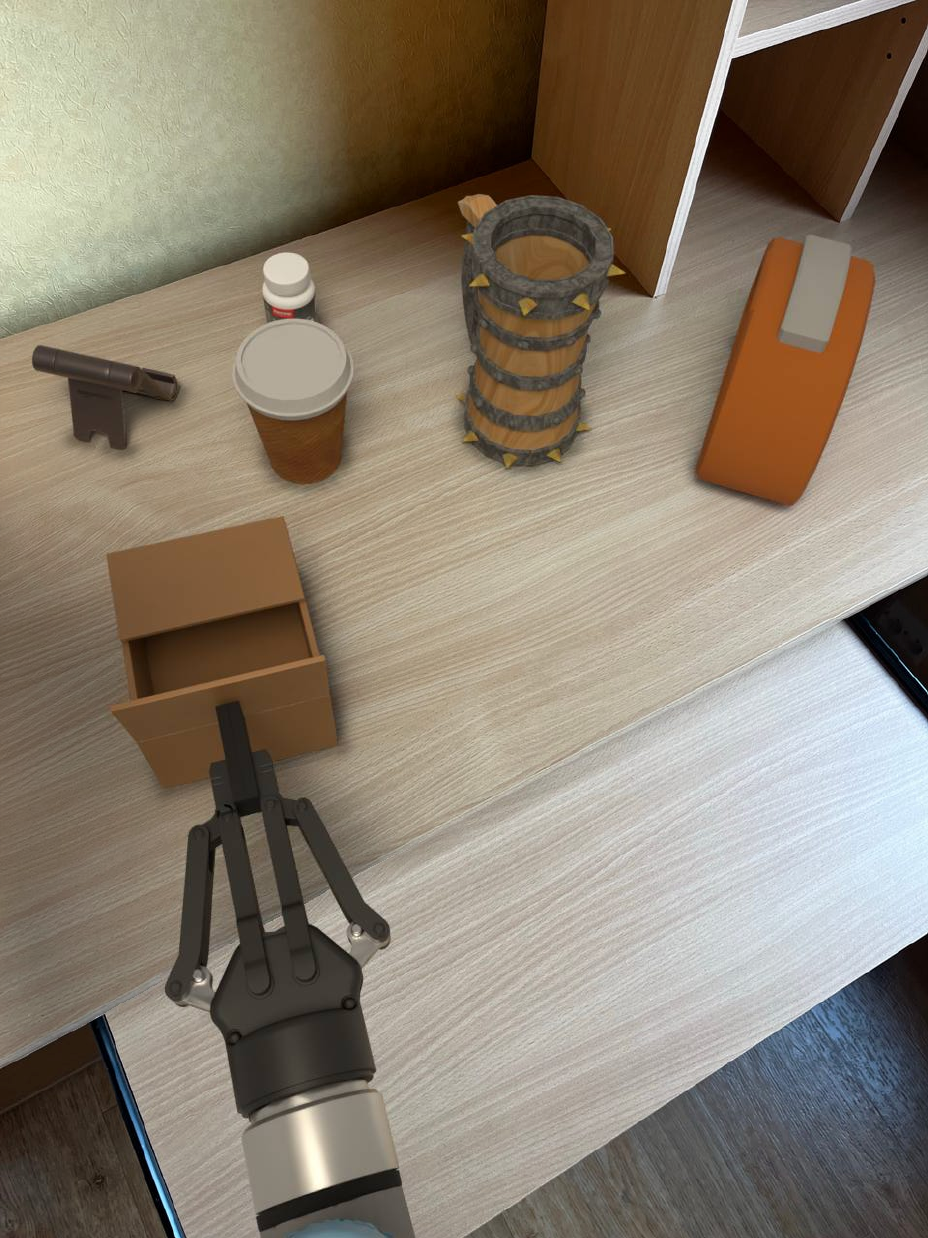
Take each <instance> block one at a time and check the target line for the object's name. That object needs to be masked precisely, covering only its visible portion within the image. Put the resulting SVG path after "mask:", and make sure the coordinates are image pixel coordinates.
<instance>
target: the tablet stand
mask: <svg viewBox="0 0 928 1238" xmlns="http://www.w3.org/2000/svg"><path fill="white" fill-rule="evenodd" d="M31 365H32V368H33V369H34V370H35V371H36V372H40V373H45V374H49V375H53V376H57V377H62V378H66V379H67V383H68V391H69V392H68V393H69V401H70V411H71V421H72V431H73V437H74V438H75V439H76V440H78V441H81V442H85V443H90V442H91V440H90V439H91V431H94V432H98V433H103V434H105V435H106V436H107V439H108V444H109V447H110V448H111V449H115V450H119V451H121V450H124V449H125V448H126V446H127V444H126V429H125V418H124V417H125V416H124V401H123V391H124V392H129V393H133V394H134V393H135V394H139V395H144V396H148V397H153V398H155V399H158V400H161V401H171V402H173V401H174V400H176V399H177V398H176V397H177V396H178V392H179V382H178V380H177V377H176V374H173V373H169V372H164V371H160V370H155V369H150V368H146V367H142V368H141V367H140V366H138V365H133V364H128V363H124V362H118V361H115V360H110V359H106V358H102V357H97V356H92V355H87V354H83V353H79V352H74V351H69V350H65V349H60V348H56V347H51V346H48V345H43V344H39V345H36V346H35V348H34V350H33V352H32V356H31Z"/></svg>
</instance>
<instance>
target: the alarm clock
mask: <svg viewBox="0 0 928 1238" xmlns="http://www.w3.org/2000/svg"><path fill="white" fill-rule="evenodd" d="M875 285H876V275H875V267H874V264H873V263H872V262H870V260H867V259H864V258H861V257H858V256H857V257H856V256H852V246H851V245H850V244H849V243H845V242H841V241H838V240H834V239H829V238H826V237H822V236H818V235H814V234H808V235H806V236H805V238H804V241H803V242H799V241H796V240H791V239H787V238H784V237H781V236H780V237H773V238H772V239H771V240H770V241H769V242H768V243H767V246H766V248H765V250H764V253H763V255H762V258H761V261H760V263H759V266H758V269H757V271H756V275H755V277H754V280H753V282H752V286H751V289H750V290H749V294H748V297H747V300H746V303H745V305H744V309H743V312H742V315H741V318H740V322H739V324H738V328H737V331H736V335H735V338H734V341H733V344H732V347H731V351H730V354H729V358H728V361H727V364H726V367H725V370H724V374H723V377H722V379H721V384H720V386H719V391H718V394H717V397H716V401H715V403H714V407H713V410H712V412H711V416H710V420H709V422H708V427H707V430H706V433H705V436H704V439H703V441H702V446H701V449H700V451H699V452H700V453H699V455H698V459H697V462H696V465H695V472H696V477H697V478H698V479H700V480H702V481H705V482H708V483H711V484H715V485H718V486H722V487H725V488H729V489H732V490H735V491H739V492H742V493H745V494H749V495H752V496H756V497H760V498H763V499H766V500H770V501H773V502H776V503H779V504H782V505H786V506H794V505H795V504H796V503H797V502H798V501H799V500H800V499H801V497H802V496H803V494H804V492H805V490H806V489H807V487H808V485H809V483H810V481H811V479H812V477H813V475H814V473H815V472H816V469H817V468H818V465H819V463H820V460H821V457H822V455H823V453H824V451H825V448H826V446H827V444H828V441H829V438H830V436H831V434H832V431H833V428H834V426H835V423H836V420H837V418H838V416H839V413H840V410H841V408H842V405H843V401H844V399H845V395H846V394H847V390H848V387H849V384H850V381H851V378H852V375H853V373H854V369H855V366H856V362H857V359H858V356H859V352H860V349H861V346H862V344H863V339H864V337H865V336H864V335H865V331H866V329H867V323H868V319H869V314H870V310H871V305H872V300H873V296H874V290H875Z"/></svg>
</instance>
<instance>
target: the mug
mask: <svg viewBox="0 0 928 1238" xmlns="http://www.w3.org/2000/svg"><path fill="white" fill-rule="evenodd" d="M457 204H458V207H459V210H460V213H461V216H462V217H464V219H466V231H465V234H462V235H461V234H460V236H461V238H463V239H465V240H464V247H463V252H462V253H463V254H462V261H461V274H460V278H461V279H460V280H461V281H460V282H461V295H462V307H463V312H464V319H465V326H466V330H467V335H468V340H469V342H470V352H471V353H472V354H474V355H475V356H476V360H475V362H474V363H473V365H472V364H471V365H469V366H468V367H467V369H466V373H467V374H468V375H469V380H468V381H469V382H468V390H467V392H466V393H463V394H454V396H455V397H456V398H458V399H459V400H460V401H461V402H463V403H464V416H463V417H464V418H463V428H464V431H465V432H466V435H465V436H464V437H463V439H462V440H461V442H470V444H472V446H474V447H475V448H476V449H477V450H478V451H479V452H481V453H482V454H483V455H484V456H485V457H486V458H489V459H491V460H494V461H496V462H498V463H500V464H504V465H505V468H506V469H508V468H509V467H510V466H511V467H530V468H532V467H537V466H541V465H543V464H549V463H551V462H554V461H557V462H559V463H561V464H562V462H563V461H562V457H561V456H563V455H564V454H565V453H566V452H567V451H569V450H570V449H571V447H572V446H573V444H574V442H575V440H576V438H577V436H578V434H579V432H580V431H586V430H592V428H591V427H590V426H588V425H587V424H585V423H584V422H582V421H581V420H582V410H581V409H582V405H581V400H582V399H583V398H585V396H586V389H584V388H583V387H582V375H581V374H582V373H583V371H584V367H583V365H584V363H585V361H586V357H587V353H588V344H589V343H590V342H591V340H592V338H591V337H592V336H591V335H590V334H589V333H588V331H589V329H590V326H591V325H592V323H593V321H594V320H598V319H600V318H601V316H602V310H601V309H600V300H601V298H602V296H603V294H604V292H605V290H606V289H607V287H608V285H609V283H610V277H613V276H619V275H624V274H626V272H625V271H624V270H623V269H620V268H619V267H618V266H616V265H614V264H613V263H614V258H615V250H614V249H615V248H614V247H615V246H614V236H613V235H612V233H611V230H612V227H611V228H610V227H607V225H606V223H605V222H604V220H603V219H602V218H601V217H599V216H598V215H597V214H596V213H595V212H593V211H591V210H590V209H589V208H587V207H586V206H584V205H583V204H580V203H577V202H574V201H571V200H568V199H566V198H562V197H559V196H551V195H534V194H533V195H532V194H530V195H525V196H520V197H516V198H511V199H506V200H504V201H502V202H500V203H498V204H497V203H496V202H495V201H494V200H493V198H492V197H491V196H490V195H487V194H482V193H480V194H479V193H478V194H474V195H465V197H464V198H463V199H461V200H458V201H457Z"/></svg>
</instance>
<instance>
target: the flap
mask: <svg viewBox="0 0 928 1238" xmlns="http://www.w3.org/2000/svg"><path fill="white" fill-rule="evenodd" d="M329 693H330V688H329V679H328V670H327V663H326V656H325V655H324V654H320V656H316V657H312V658H308V659H303V660H299V661H295V662H291V663H287V664H282V665H278V666H274V667H270V668H266V669H261V670H257V671H253V672H249V673H245V674H241V675H236V676H232V677H228V678H224V679H220V680H215V681H211V682H207V683H203V684H199V685H194V686H190V687H186V688H182V689H178V690H174V691H169V692H165V693H161V694H157V695H153V696H148V697H144V698H140V699H136V700H132V701H130V700H128V701H123V702H120V703H115V704H111V705H109V707H108V708H109V712H110V713H111V714H112V715H113V716H114V718H115V719H116V720H117V722H118V723H119V724H120V725H121V726H122V728H123V729H124V730H125V731H126V732H127V733H128V734H129V736H130V737H131V739H133V740H134V742H136V743H137V741H141V740H145V739H149V738H153V737H157V736H161V735H165V734H169V733H173V732H177V731H182V730H186V729H190V728H194V727H198V726H202V725H206V724H210V723H214V722H218V718H217V713H216V708H215V706H219V705H223V704H227V703H232V702H236V701H239V703H240V706H241V709H242V712H243V715H247V714H251V713H255V712H259V711H263V710H267V709H271V708H275V707H279V706H283V705H287V704H291V703H296V702H300V701H304V700H308V699H312V698H316V697H320V696H324V695H328V694H329Z"/></svg>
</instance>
